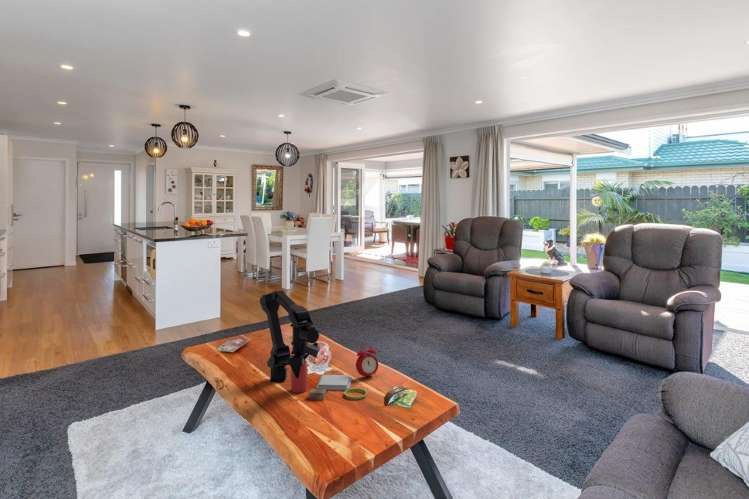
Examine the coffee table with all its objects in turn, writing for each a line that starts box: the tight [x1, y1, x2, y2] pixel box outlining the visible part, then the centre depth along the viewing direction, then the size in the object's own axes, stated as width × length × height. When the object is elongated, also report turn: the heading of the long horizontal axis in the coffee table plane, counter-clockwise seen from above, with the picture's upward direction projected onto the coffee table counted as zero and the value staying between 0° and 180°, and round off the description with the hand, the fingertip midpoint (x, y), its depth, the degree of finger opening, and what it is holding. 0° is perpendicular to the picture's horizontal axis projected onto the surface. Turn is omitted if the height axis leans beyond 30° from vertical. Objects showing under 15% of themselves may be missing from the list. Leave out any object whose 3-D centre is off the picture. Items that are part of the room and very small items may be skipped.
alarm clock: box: [355, 343, 379, 380], centre depth 192 cm, size 10×6×15 cm, turn 117°
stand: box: [315, 374, 353, 392], centre depth 182 cm, size 14×14×2 cm
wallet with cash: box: [383, 385, 409, 405], centre depth 172 cm, size 15×3×8 cm, turn 139°
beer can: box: [290, 360, 308, 394], centre depth 175 cm, size 7×7×12 cm
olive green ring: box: [343, 387, 368, 401], centre depth 170 cm, size 9×9×9 cm
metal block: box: [308, 388, 327, 401], centre depth 168 cm, size 6×4×3 cm, turn 84°
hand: (299, 375), depth 175 cm, fingers closed on beer can, 7 cm apart
